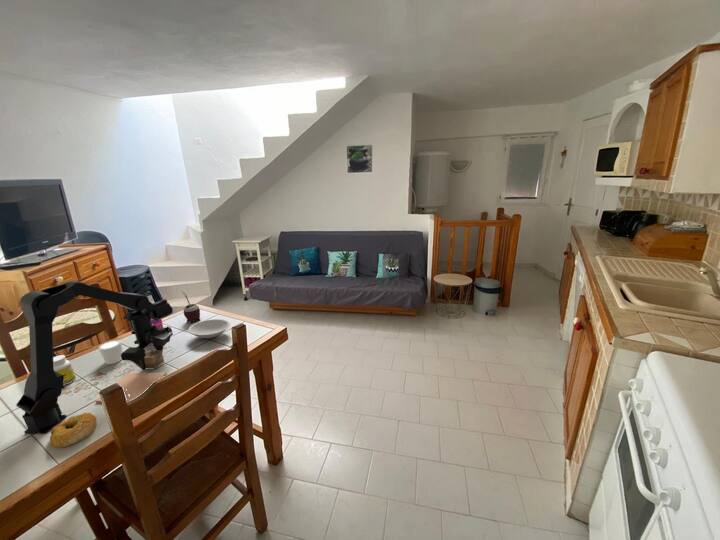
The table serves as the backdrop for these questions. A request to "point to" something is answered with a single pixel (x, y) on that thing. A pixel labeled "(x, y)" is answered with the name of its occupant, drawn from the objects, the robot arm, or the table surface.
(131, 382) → the tile mat
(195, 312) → the mate gourd
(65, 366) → the supplement bottle
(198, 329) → the dish
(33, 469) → the table surface
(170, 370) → the table surface
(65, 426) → the bagel
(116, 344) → the white cup
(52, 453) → the table surface
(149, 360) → the walnut cube
